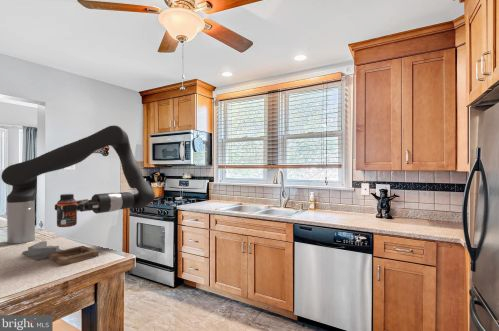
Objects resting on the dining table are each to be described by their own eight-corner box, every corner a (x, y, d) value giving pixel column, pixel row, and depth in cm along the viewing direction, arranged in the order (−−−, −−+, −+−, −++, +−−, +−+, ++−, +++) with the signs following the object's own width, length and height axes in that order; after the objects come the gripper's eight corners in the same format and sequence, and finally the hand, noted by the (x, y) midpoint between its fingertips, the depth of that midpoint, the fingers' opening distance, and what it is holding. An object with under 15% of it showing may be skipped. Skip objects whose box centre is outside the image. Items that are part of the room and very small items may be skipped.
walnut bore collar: (48, 258, 95) (48, 253, 95) (82, 250, 104) (82, 245, 104) (63, 265, 88) (63, 260, 88) (98, 255, 97) (98, 250, 97)
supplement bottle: (66, 228, 94) (66, 195, 93) (52, 227, 95) (52, 195, 95) (80, 224, 99) (80, 193, 99) (67, 223, 101) (66, 193, 101)
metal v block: (22, 253, 101) (22, 244, 101) (50, 247, 108) (50, 239, 108) (37, 260, 92) (37, 251, 92) (67, 253, 100) (67, 245, 100)
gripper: (98, 192, 113) (50, 196, 99) (116, 194, 105) (67, 199, 91) (98, 210, 113) (50, 216, 99) (116, 213, 105) (67, 221, 91)
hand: (59, 208), depth 95 cm, fingers closed on supplement bottle, 6 cm apart
